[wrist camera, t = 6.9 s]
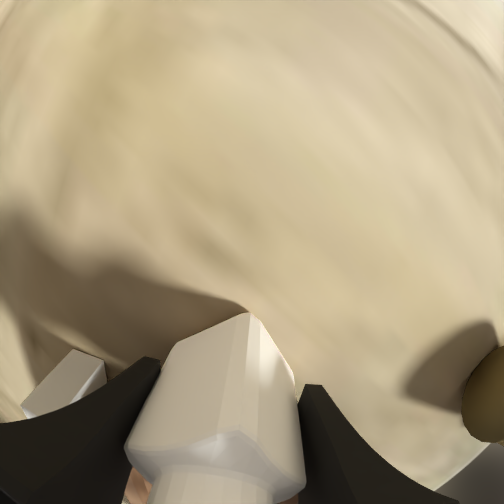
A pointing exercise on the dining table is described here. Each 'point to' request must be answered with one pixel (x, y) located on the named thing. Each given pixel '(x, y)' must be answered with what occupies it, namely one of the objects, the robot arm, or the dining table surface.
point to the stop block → (66, 384)
